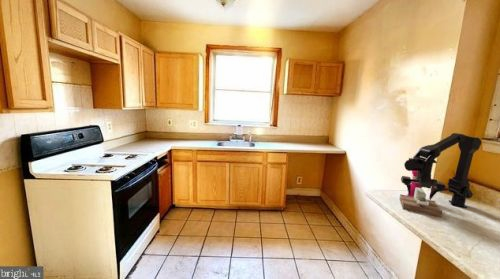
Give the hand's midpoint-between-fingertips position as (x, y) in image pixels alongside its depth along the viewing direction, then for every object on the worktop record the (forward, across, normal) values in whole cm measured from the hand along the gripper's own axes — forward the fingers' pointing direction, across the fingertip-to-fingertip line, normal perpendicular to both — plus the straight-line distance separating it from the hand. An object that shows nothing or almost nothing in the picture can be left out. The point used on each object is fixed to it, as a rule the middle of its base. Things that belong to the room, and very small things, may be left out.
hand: (419, 197), depth 120 cm
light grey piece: (+2, 0, -2) cm, 3 cm away
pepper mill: (+5, 0, +13) cm, 14 cm away
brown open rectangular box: (+5, 0, -2) cm, 6 cm away
